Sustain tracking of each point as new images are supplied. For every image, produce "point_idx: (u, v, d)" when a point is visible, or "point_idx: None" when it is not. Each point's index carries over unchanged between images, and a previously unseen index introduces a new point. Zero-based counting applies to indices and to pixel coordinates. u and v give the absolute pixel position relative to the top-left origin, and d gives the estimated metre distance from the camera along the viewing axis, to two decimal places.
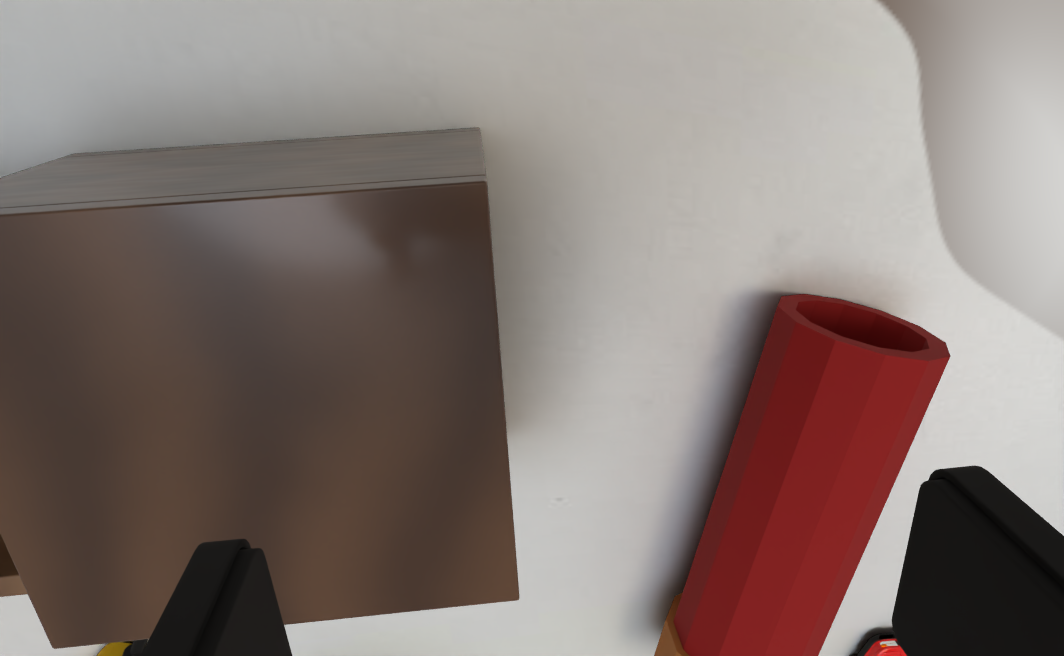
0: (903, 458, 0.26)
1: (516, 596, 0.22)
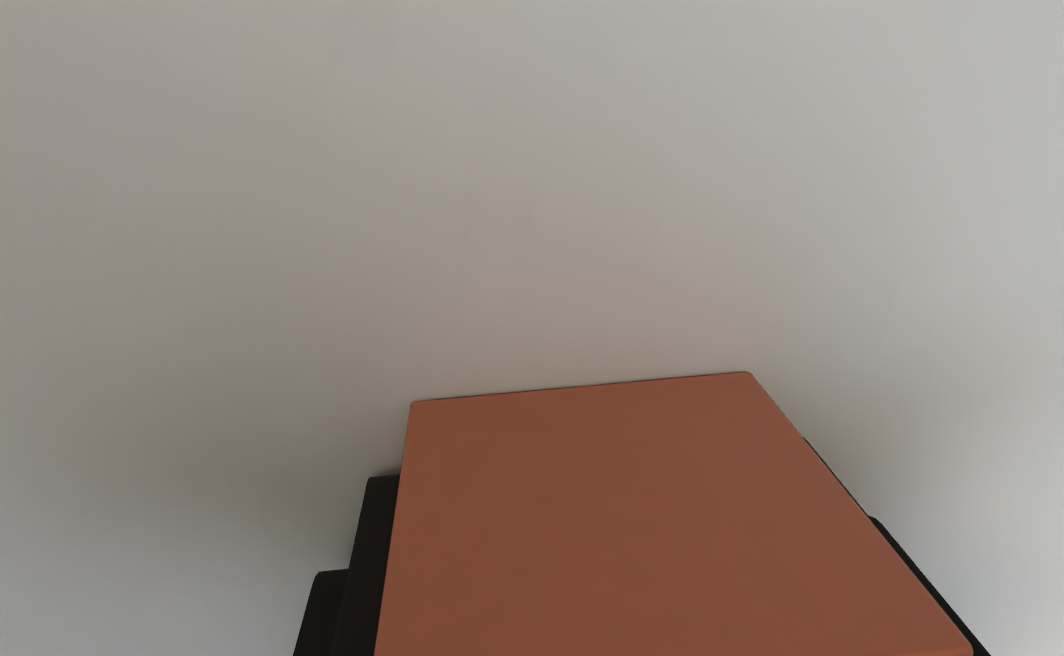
0: None
1: None
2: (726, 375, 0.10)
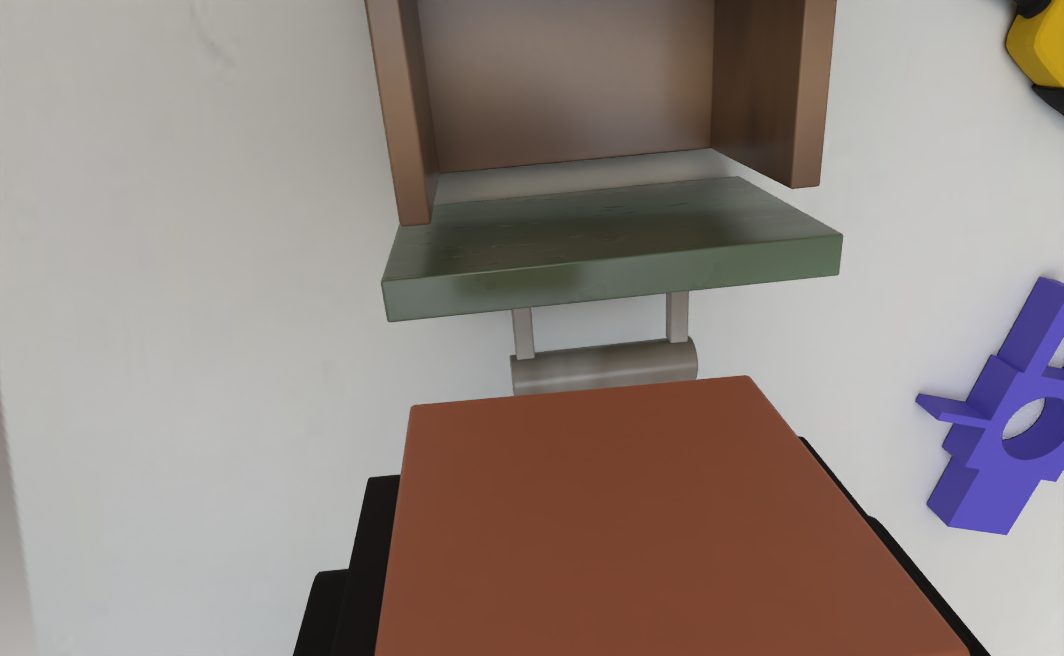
0: None
1: None
2: (725, 378, 0.10)
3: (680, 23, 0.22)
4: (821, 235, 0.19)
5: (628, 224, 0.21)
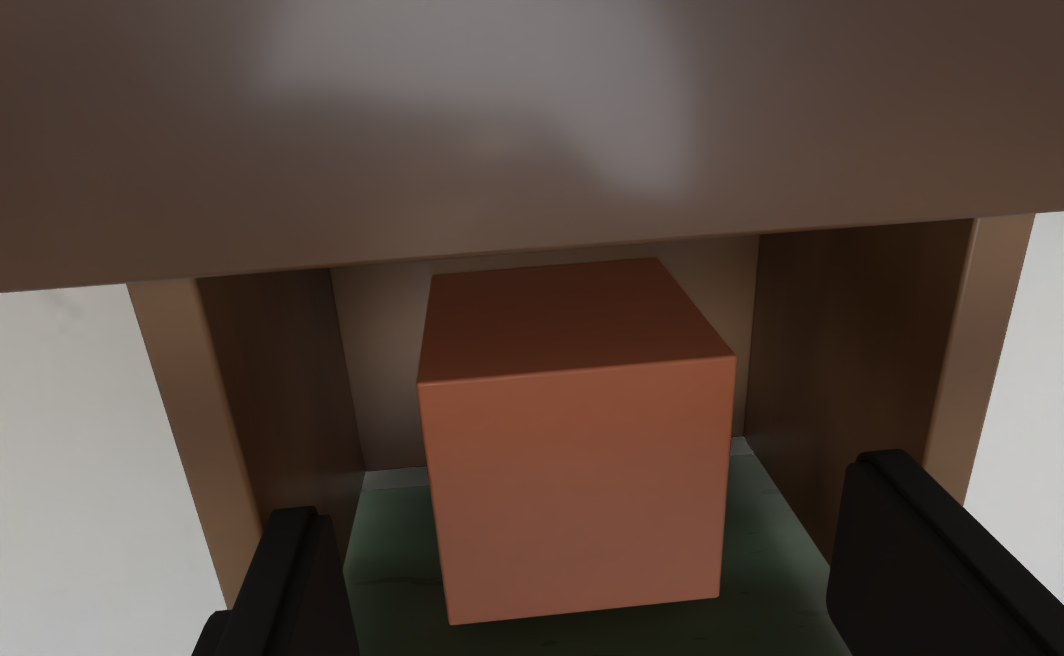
0: None
1: None
2: (641, 259, 0.15)
3: (708, 289, 0.16)
4: None
5: None
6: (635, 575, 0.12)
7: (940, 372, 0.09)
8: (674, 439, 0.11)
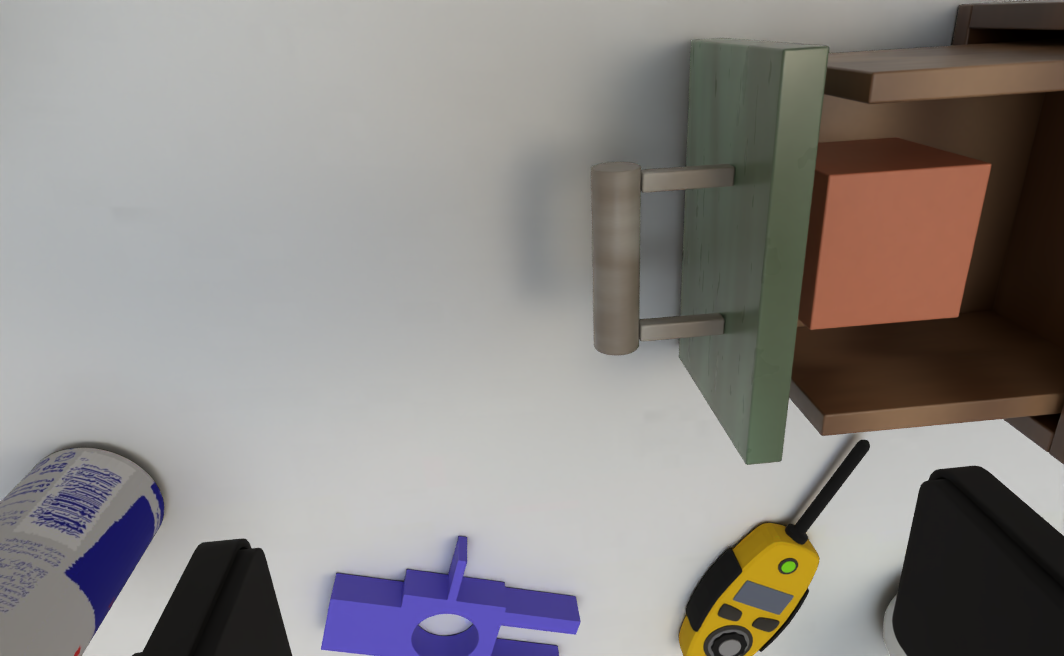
0: None
1: None
2: None
3: None
4: None
5: None
6: (839, 282, 0.22)
7: (979, 400, 0.22)
8: (922, 293, 0.22)
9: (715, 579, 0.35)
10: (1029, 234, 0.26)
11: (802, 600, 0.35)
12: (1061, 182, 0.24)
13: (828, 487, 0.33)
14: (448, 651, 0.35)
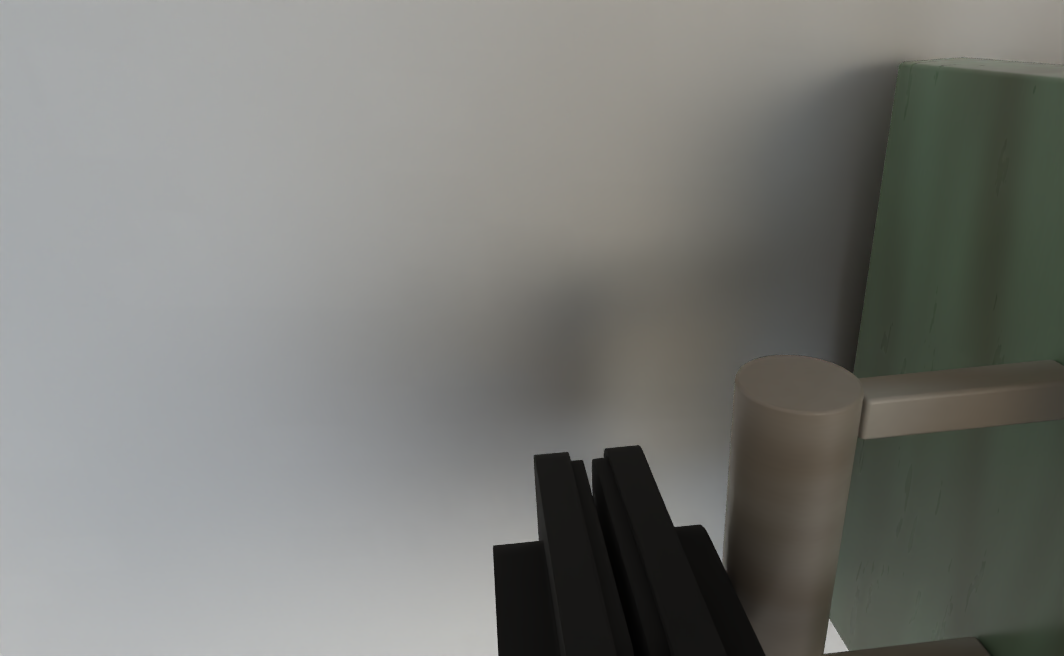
0: None
1: None
2: None
3: None
4: None
5: None
6: None
7: None
8: None
9: None
10: None
11: None
12: None
13: None
14: None
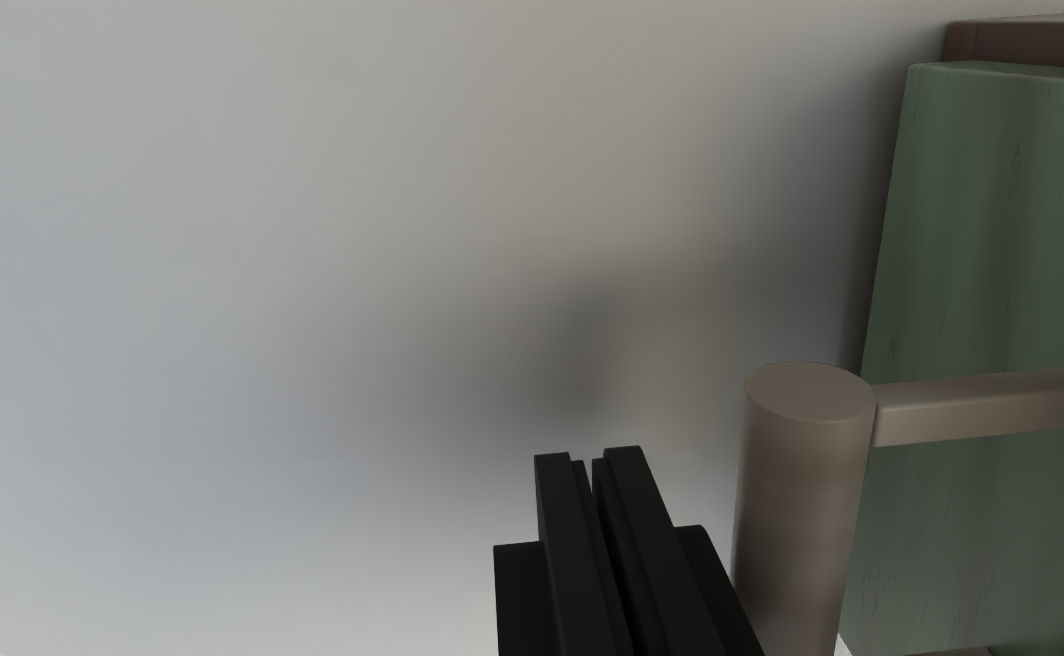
0: None
1: None
2: None
3: None
4: None
5: None
6: None
7: None
8: None
9: None
10: None
11: None
12: None
13: None
14: None
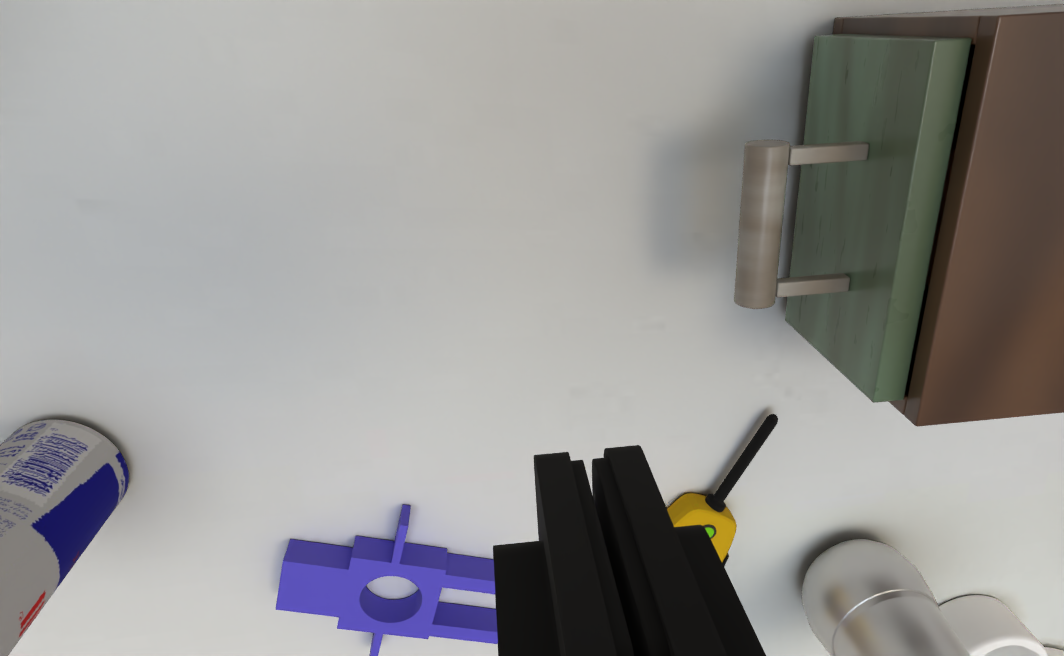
0: None
1: None
2: None
3: None
4: (905, 385, 0.25)
5: None
6: None
7: None
8: None
9: None
10: None
11: None
12: None
13: (742, 458, 0.36)
14: (395, 613, 0.38)
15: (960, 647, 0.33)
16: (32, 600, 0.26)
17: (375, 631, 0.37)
